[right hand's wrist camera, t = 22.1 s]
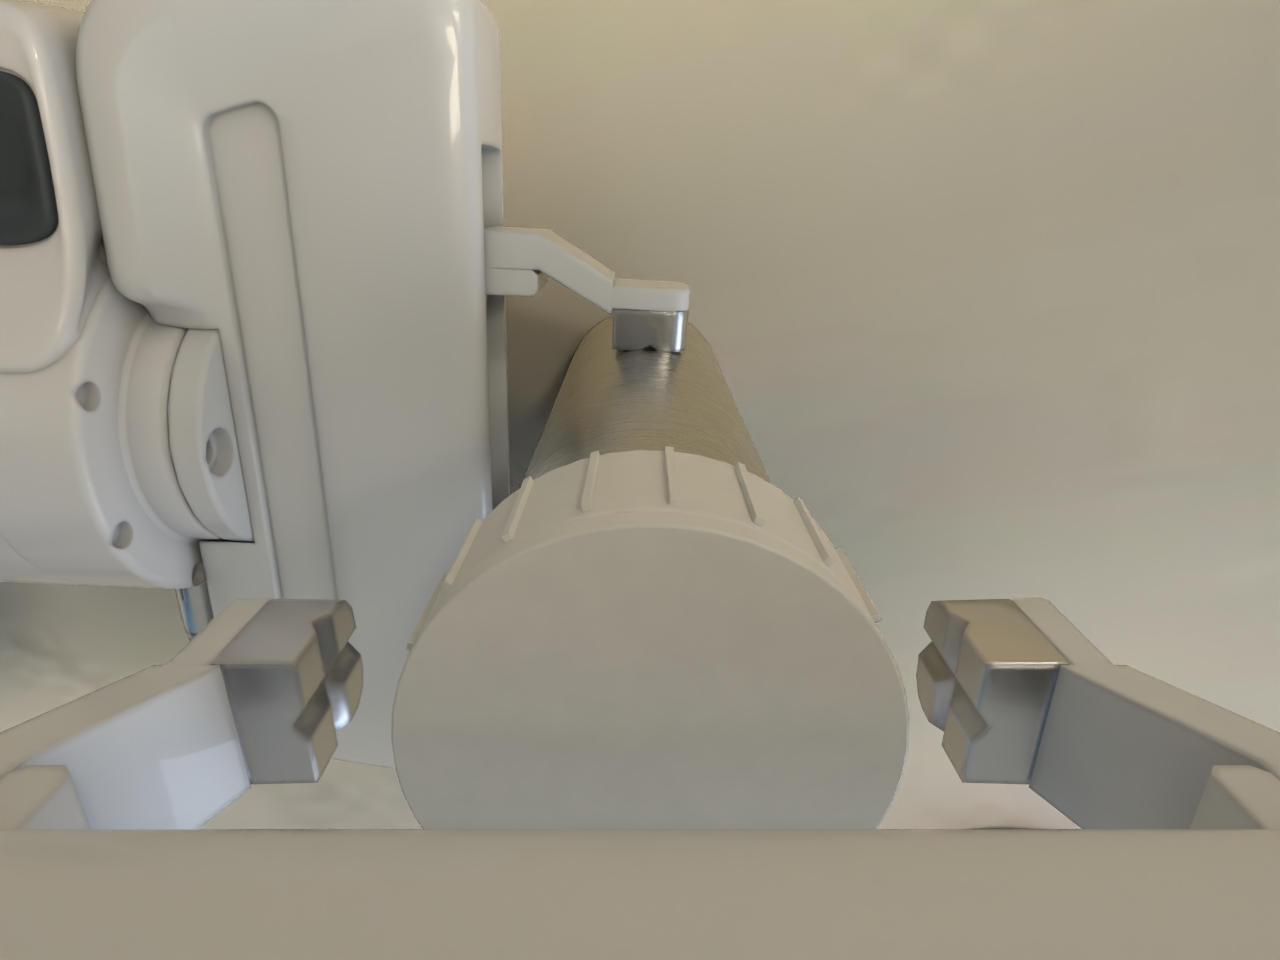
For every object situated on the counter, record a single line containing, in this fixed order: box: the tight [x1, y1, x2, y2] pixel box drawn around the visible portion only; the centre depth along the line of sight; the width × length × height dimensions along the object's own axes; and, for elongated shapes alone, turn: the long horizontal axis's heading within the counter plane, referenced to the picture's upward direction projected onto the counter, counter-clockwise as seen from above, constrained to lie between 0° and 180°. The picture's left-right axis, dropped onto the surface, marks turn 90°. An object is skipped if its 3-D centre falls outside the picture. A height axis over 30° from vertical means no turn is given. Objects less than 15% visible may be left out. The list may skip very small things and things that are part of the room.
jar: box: [520, 316, 771, 488], centre depth 16 cm, size 5×5×16 cm
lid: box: [391, 446, 909, 829], centre depth 9 cm, size 6×6×2 cm
